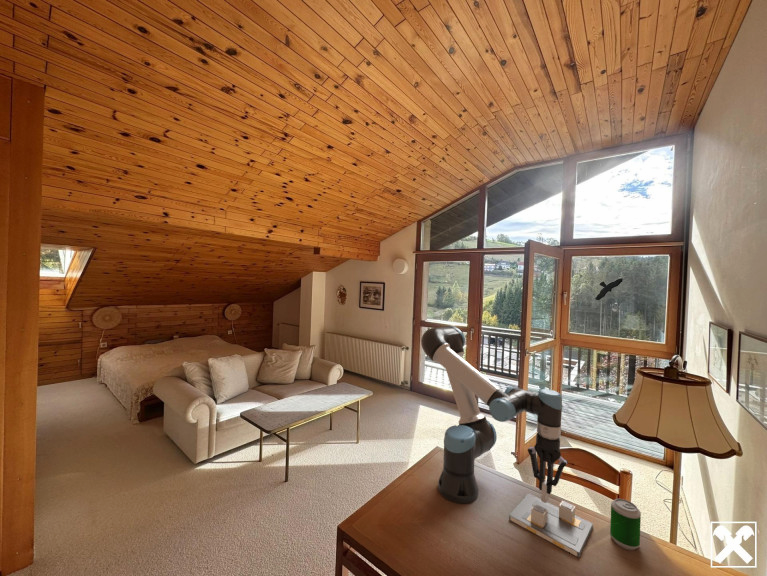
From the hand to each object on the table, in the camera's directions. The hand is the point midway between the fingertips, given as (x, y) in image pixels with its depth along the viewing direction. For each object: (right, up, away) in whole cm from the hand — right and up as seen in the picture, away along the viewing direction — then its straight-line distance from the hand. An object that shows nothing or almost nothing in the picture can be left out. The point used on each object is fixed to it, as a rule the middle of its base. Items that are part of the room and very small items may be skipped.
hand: (544, 500), depth 114 cm
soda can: (+19, -5, -13) cm, 23 cm away
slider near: (-6, -2, -7) cm, 9 cm away
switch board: (-1, -4, -6) cm, 7 cm away
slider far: (+5, -3, -5) cm, 8 cm away
